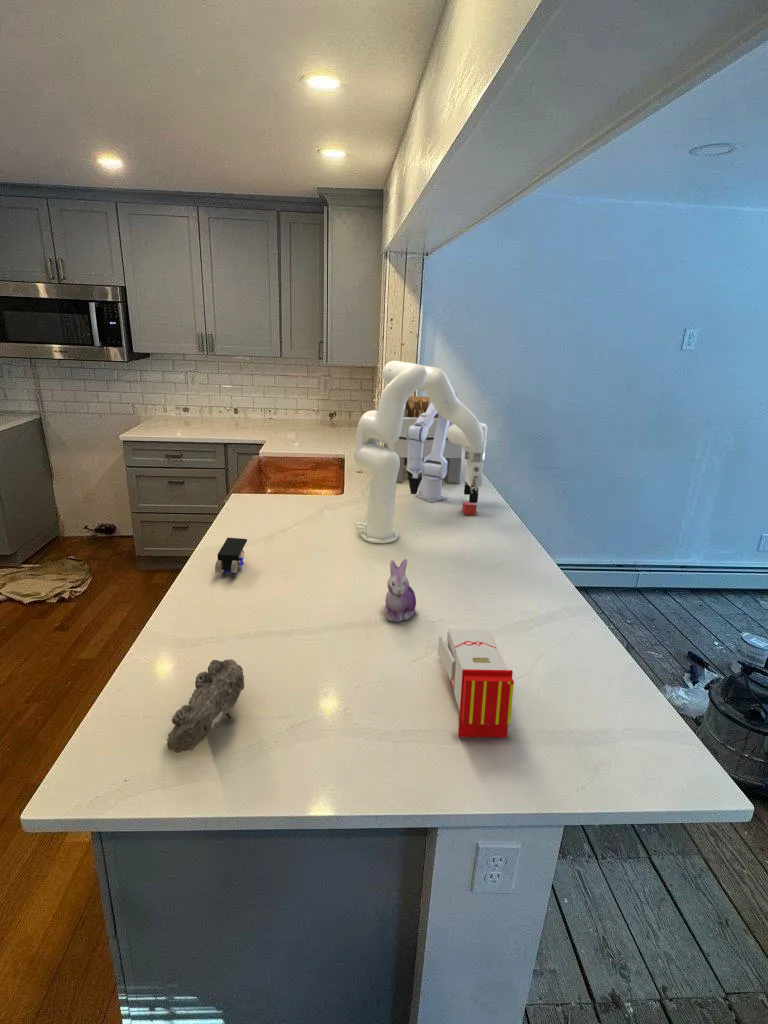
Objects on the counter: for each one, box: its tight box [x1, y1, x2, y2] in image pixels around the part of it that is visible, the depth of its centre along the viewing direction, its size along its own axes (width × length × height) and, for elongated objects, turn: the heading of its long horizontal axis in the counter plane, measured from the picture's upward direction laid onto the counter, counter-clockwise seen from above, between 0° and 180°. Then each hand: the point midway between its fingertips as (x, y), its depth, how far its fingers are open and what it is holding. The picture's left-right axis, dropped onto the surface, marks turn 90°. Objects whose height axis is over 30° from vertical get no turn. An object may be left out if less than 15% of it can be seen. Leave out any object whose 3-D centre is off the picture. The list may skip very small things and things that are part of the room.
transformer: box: [383, 392, 463, 484], centre depth 268 cm, size 34×33×41 cm
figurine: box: [384, 558, 417, 623], centre depth 145 cm, size 9×10×15 cm
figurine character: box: [214, 537, 248, 578], centre depth 166 cm, size 7×8×15 cm
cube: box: [461, 500, 478, 516], centre depth 223 cm, size 4×5×4 cm
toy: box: [437, 628, 515, 738], centre depth 117 cm, size 12×13×30 cm
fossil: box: [166, 658, 245, 754], centre depth 106 cm, size 22×10×15 cm
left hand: (470, 498), depth 221 cm, fingers open, 9 cm apart
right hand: (413, 490), depth 221 cm, fingers open, 7 cm apart
